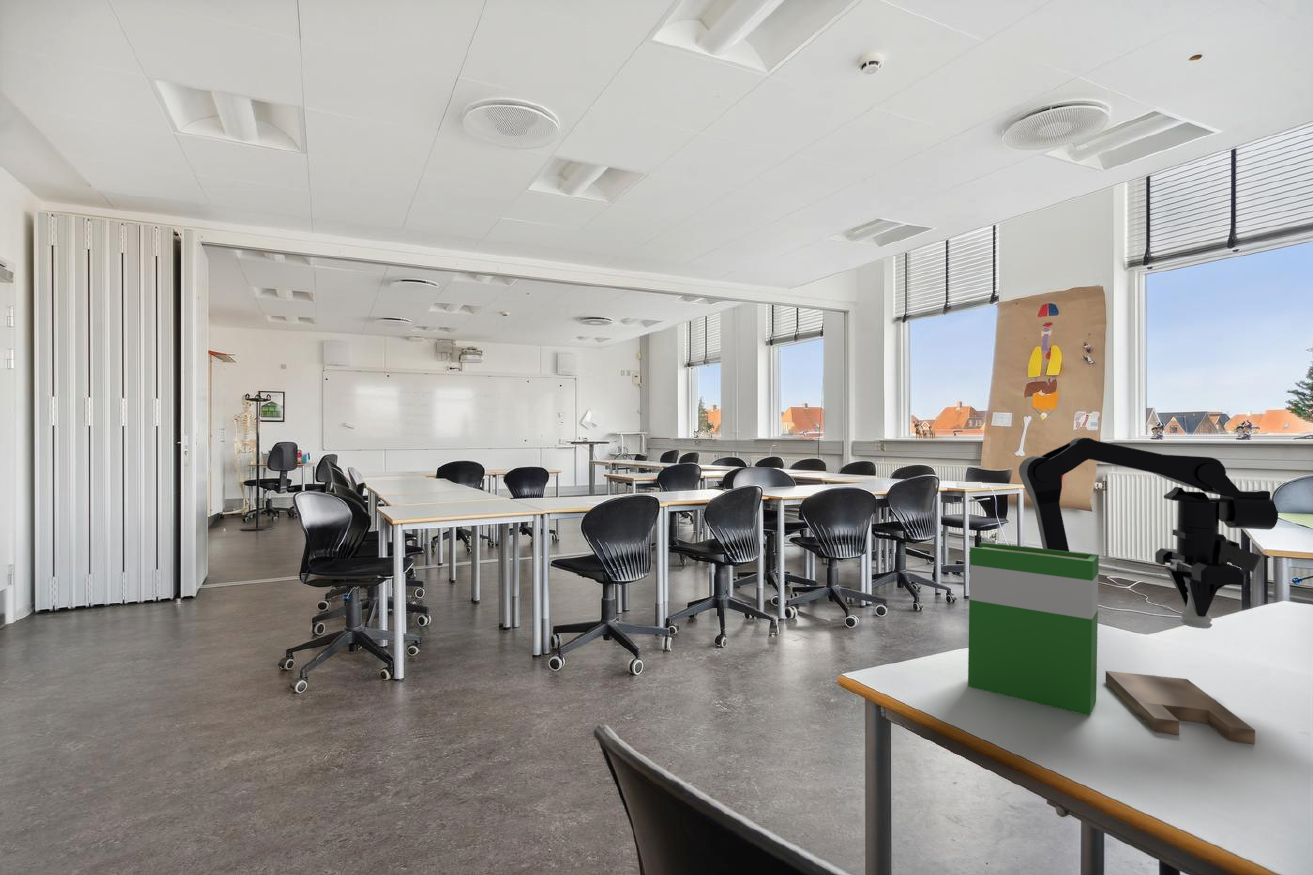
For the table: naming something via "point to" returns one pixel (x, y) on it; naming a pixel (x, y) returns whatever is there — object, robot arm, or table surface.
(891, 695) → the table surface
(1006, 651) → the green open box
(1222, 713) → the notched board
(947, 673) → the table surface
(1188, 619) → the rook chess piece
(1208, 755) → the table surface
